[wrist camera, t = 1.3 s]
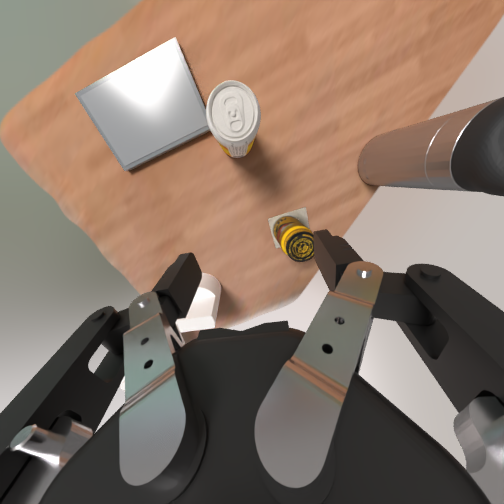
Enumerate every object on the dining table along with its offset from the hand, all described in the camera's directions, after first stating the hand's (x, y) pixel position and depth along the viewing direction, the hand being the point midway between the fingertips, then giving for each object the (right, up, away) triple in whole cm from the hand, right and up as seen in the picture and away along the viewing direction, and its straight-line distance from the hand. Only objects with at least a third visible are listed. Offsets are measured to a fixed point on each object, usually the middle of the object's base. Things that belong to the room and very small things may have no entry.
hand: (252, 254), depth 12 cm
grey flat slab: (-17, +24, +19) cm, 35 cm away
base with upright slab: (-12, -9, +33) cm, 36 cm away
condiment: (+8, +5, +28) cm, 30 cm away
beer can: (-3, +21, +21) cm, 30 cm away
